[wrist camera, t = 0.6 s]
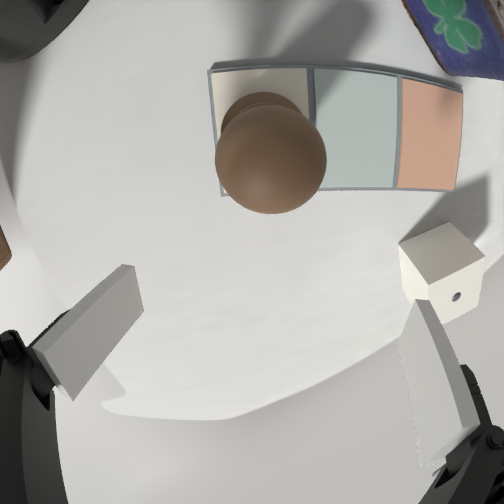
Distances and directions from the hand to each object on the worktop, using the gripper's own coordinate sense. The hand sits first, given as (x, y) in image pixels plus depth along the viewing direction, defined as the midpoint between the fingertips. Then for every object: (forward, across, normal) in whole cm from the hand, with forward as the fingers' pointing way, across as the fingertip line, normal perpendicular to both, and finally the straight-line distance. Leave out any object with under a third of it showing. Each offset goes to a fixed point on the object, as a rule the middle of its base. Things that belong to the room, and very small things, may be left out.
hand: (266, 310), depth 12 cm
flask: (+11, +10, +18) cm, 24 cm away
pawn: (+8, -2, +7) cm, 11 cm away
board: (+10, +4, +8) cm, 14 cm away
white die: (+14, +14, -3) cm, 20 cm away
